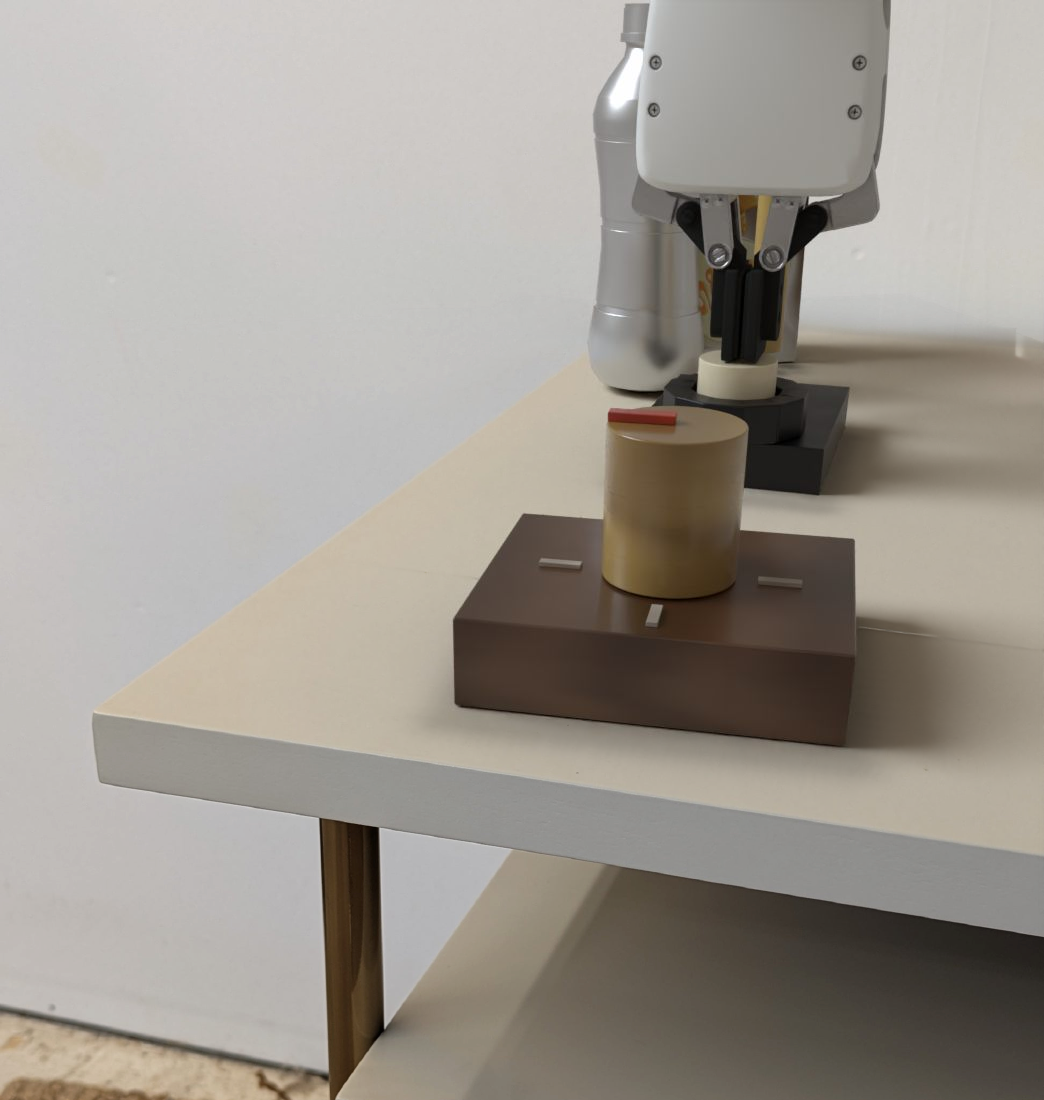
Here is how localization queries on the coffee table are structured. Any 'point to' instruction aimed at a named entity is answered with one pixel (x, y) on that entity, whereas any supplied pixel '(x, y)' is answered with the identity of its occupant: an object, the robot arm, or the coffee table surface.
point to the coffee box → (748, 231)
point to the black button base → (779, 430)
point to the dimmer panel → (663, 637)
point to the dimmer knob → (673, 500)
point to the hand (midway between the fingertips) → (743, 354)
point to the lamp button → (737, 377)
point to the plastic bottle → (638, 250)
